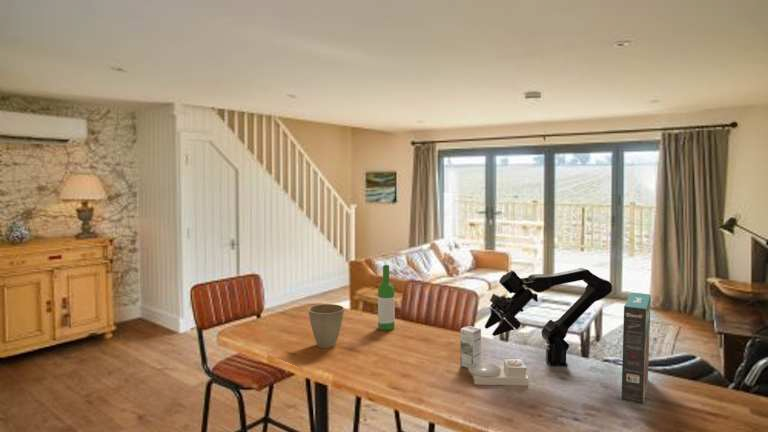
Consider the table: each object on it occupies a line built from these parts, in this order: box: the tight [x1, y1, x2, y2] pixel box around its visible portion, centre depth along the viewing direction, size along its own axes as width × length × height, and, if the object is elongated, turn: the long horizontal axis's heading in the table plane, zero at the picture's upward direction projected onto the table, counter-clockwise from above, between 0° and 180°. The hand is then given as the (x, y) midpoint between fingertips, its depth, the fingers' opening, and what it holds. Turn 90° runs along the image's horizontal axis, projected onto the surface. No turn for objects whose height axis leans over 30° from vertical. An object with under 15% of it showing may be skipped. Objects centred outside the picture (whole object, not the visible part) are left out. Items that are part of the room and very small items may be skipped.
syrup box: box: [460, 325, 482, 370], centre depth 182 cm, size 6×6×14 cm
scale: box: [468, 358, 530, 386], centre depth 171 cm, size 20×11×6 cm, turn 87°
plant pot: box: [307, 303, 345, 349], centre depth 207 cm, size 15×15×16 cm
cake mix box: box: [621, 292, 652, 405], centre depth 161 cm, size 22×6×30 cm, turn 148°
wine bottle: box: [377, 264, 396, 331], centre depth 230 cm, size 8×8×30 cm
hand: (489, 331), depth 183 cm, fingers open, 9 cm apart
